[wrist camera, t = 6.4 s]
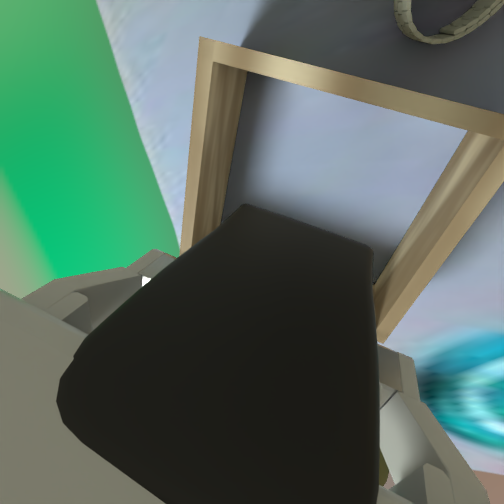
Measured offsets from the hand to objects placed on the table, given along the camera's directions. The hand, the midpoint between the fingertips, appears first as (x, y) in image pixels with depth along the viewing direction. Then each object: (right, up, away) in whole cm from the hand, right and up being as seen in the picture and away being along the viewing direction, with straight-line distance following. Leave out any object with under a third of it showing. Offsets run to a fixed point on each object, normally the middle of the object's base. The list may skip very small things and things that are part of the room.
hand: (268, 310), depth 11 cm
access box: (+5, +8, +13) cm, 16 cm away
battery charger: (+2, +2, +4) cm, 5 cm away
